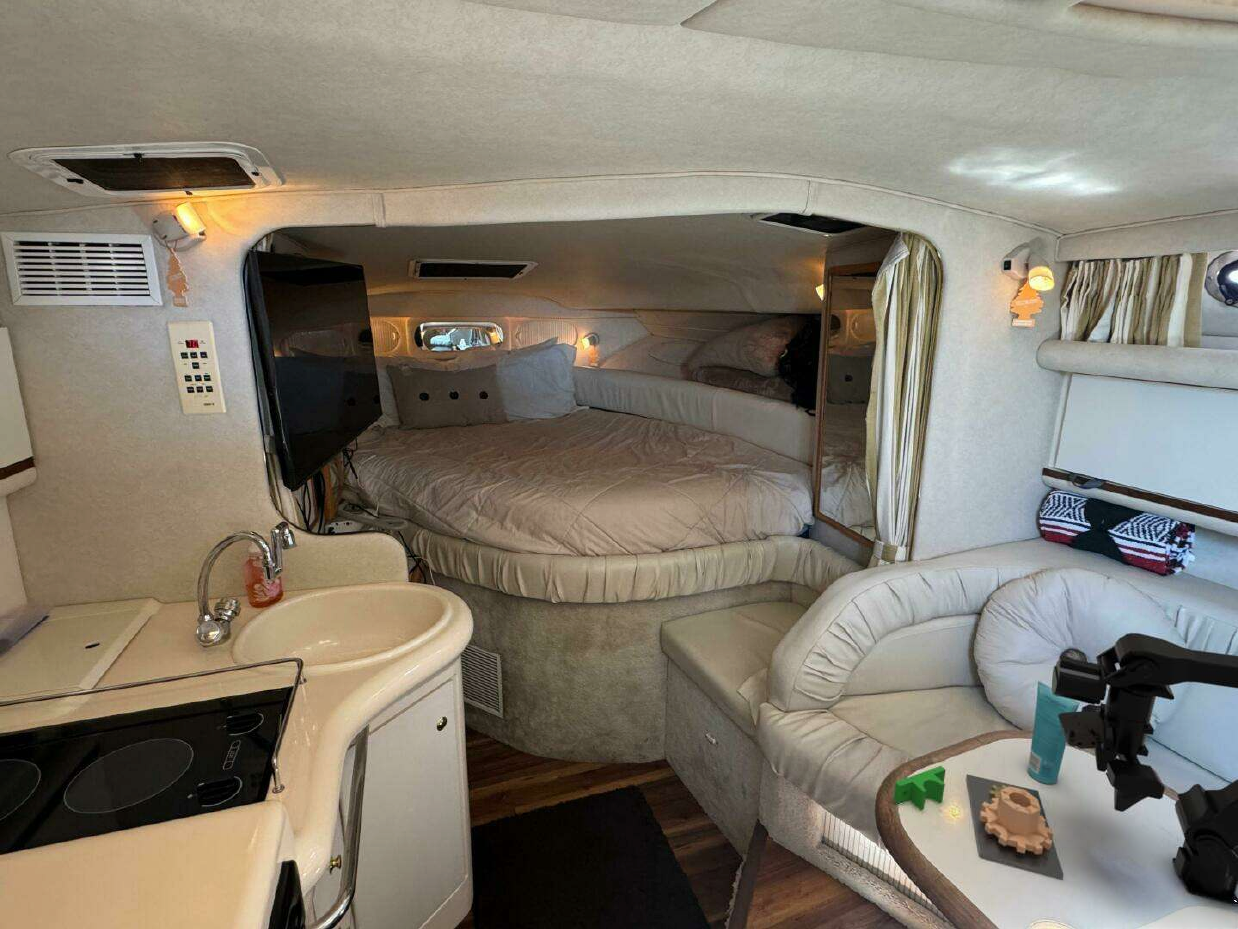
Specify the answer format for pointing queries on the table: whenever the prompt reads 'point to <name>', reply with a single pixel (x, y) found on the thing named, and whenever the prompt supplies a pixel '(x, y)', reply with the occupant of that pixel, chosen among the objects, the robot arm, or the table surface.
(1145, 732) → the robot arm
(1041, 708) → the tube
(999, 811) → the planet gear
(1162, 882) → the table surface
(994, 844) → the carrier plate
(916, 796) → the pipe clamp
